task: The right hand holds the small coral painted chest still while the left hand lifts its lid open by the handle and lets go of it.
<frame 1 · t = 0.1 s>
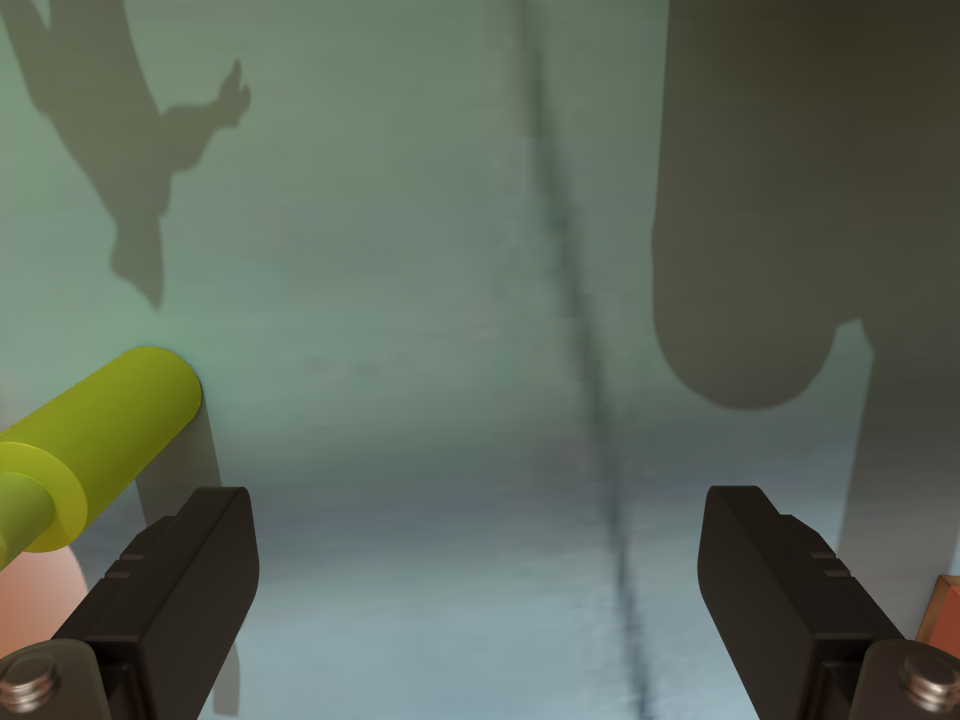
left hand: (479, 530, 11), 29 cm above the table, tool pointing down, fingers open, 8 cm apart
soap dispenser: (157, 380, 42), on the table
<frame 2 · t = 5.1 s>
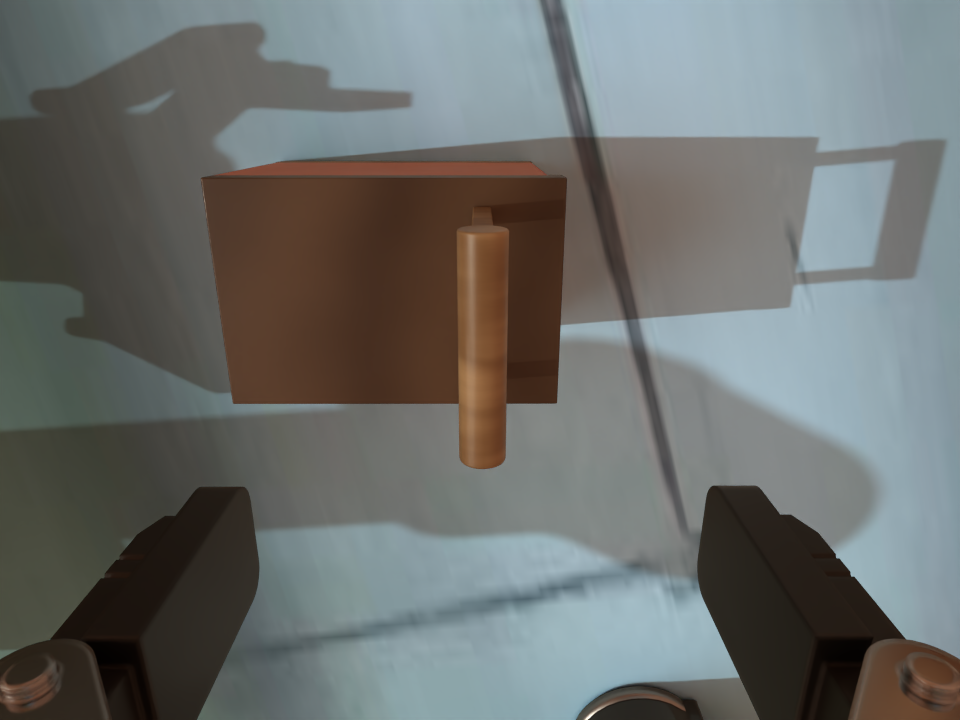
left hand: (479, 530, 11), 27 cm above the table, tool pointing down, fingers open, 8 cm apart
chest: (409, 248, 37), on the table
lid: (378, 318, 24), point 14 cm above the table, hinge at 0.0°
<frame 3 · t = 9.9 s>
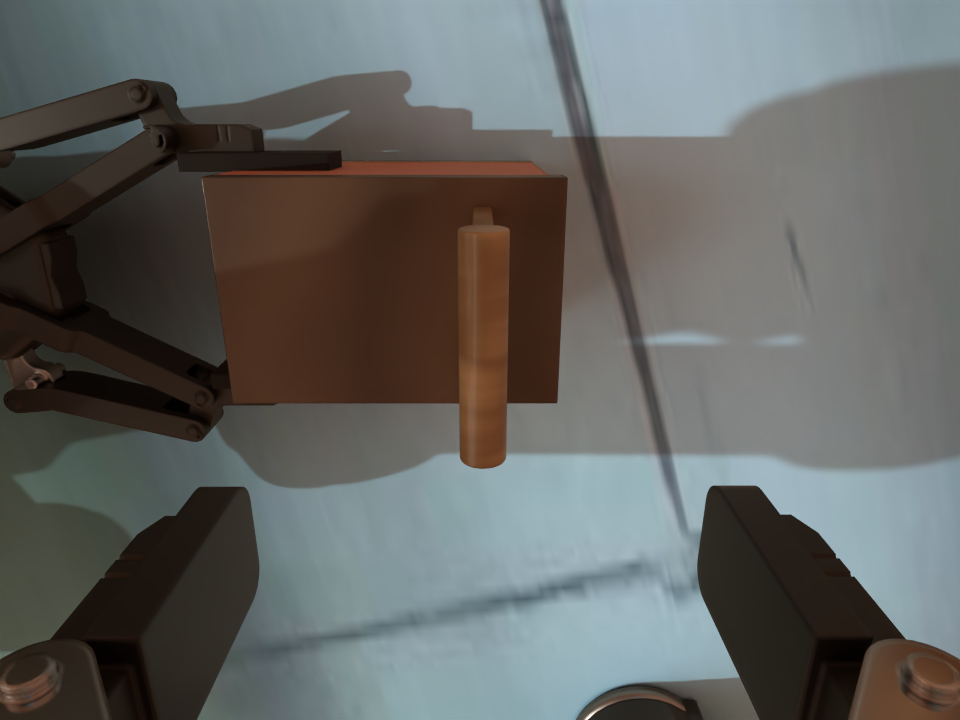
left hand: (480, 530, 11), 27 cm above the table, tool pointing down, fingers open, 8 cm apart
chest: (409, 248, 37), on the table, touching right hand
lid: (379, 318, 24), point 14 cm above the table, hinge at 0.0°
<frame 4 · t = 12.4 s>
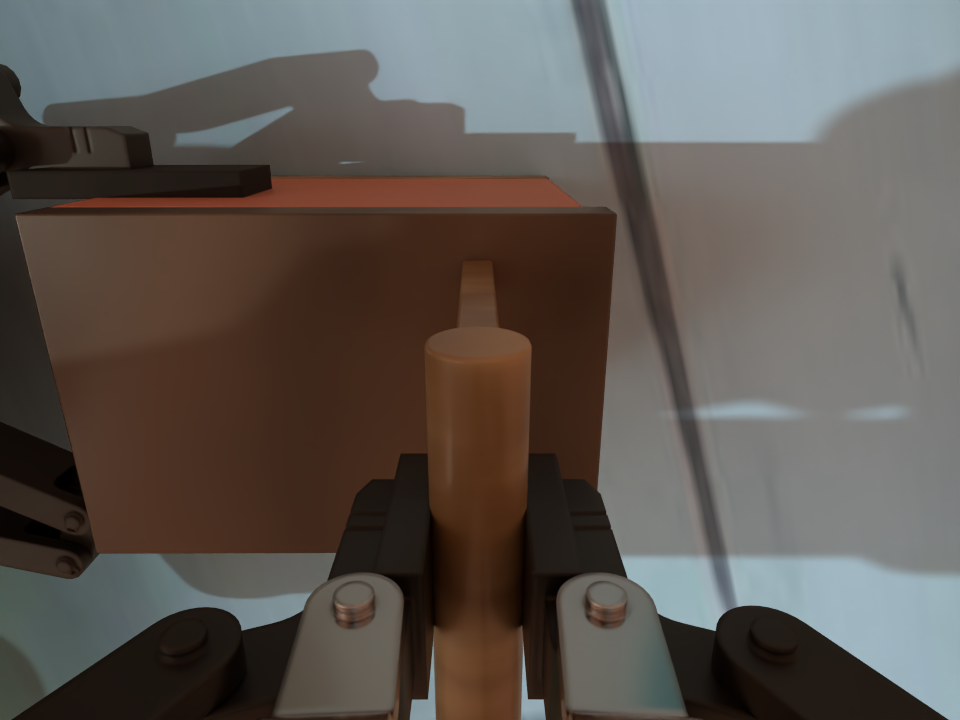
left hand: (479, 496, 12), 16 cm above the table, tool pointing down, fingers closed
chest: (380, 293, 27), on the table, touching right hand
lid: (302, 457, 14), point 14 cm above the table, hinge at 0.0°, touching left hand
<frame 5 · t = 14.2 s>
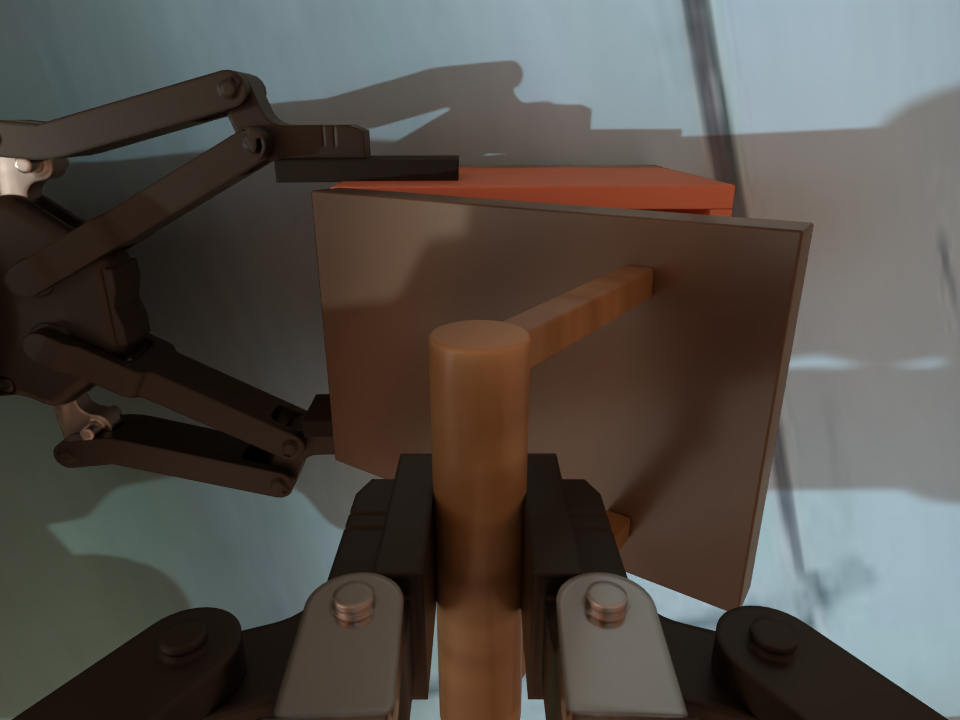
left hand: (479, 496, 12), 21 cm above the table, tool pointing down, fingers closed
right hand: (460, 298, 26), fingers closed on chest, 9 cm apart
chest: (511, 265, 32), on the table, touching right hand
lid: (433, 418, 16), point 17 cm above the table, hinge at 35.6°, touching left hand
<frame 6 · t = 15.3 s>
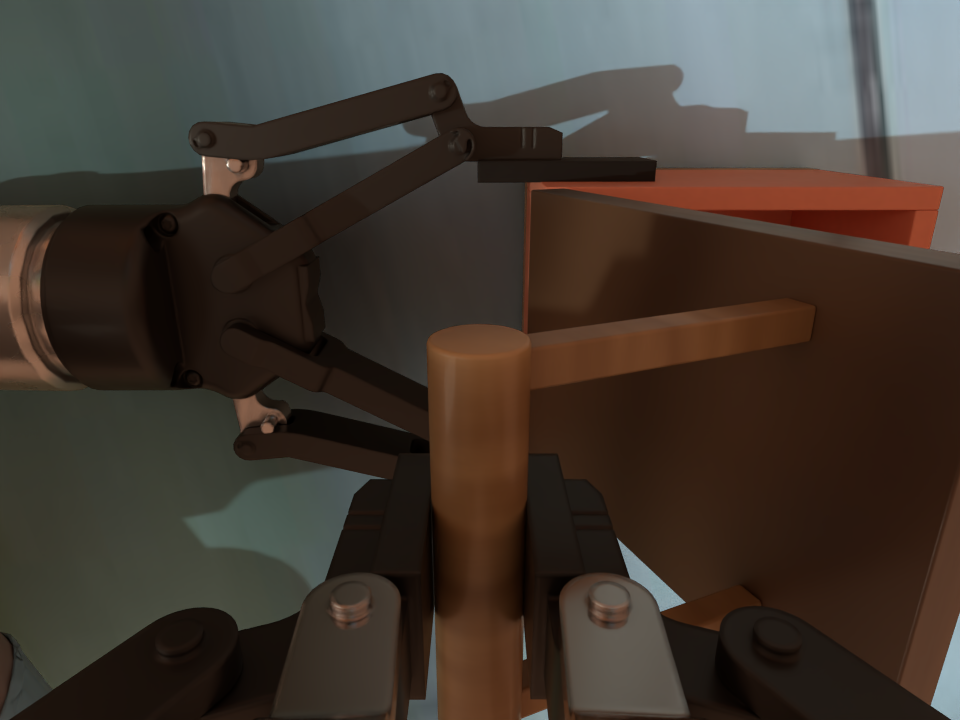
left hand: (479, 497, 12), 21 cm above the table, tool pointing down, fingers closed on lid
right hand: (635, 297, 27), fingers closed on chest, 9 cm apart
chest: (657, 266, 33), on the table, touching right hand
lid: (551, 426, 15), point 18 cm above the table, hinge at 66.5°, touching left hand
when the right hand's fingers open (6 cm above the table, at t = 19.2 s): chest stays where it is, on the table.
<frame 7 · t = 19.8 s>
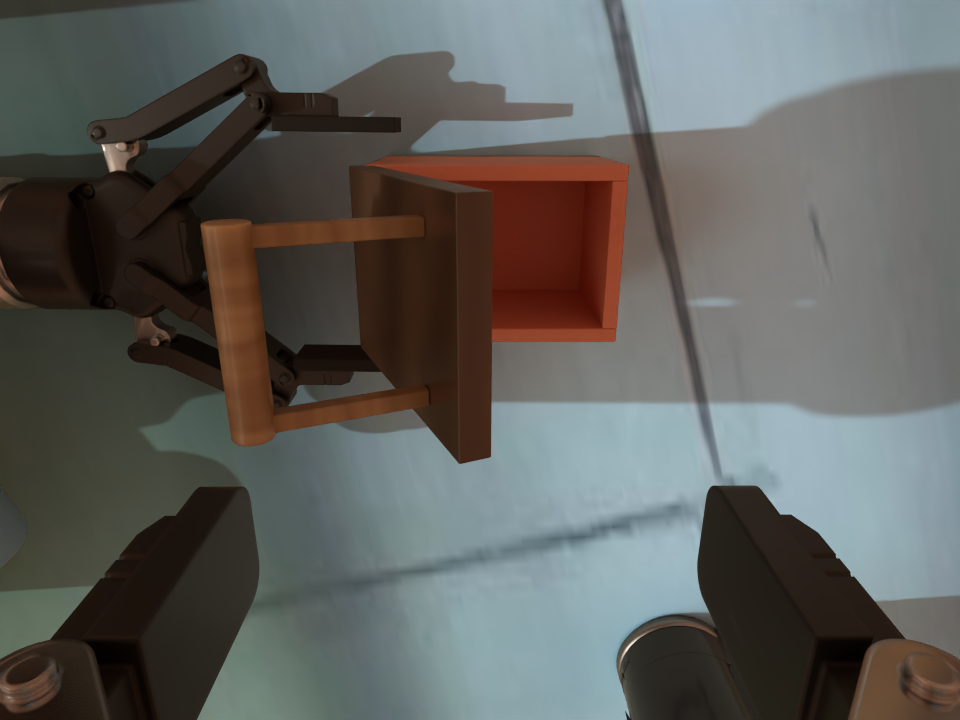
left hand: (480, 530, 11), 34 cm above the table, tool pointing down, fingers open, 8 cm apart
right hand: (402, 248, 38), fingers open, 13 cm apart
chest: (492, 229, 44), on the table
lid: (323, 298, 26), point 18 cm above the table, hinge at 66.0°
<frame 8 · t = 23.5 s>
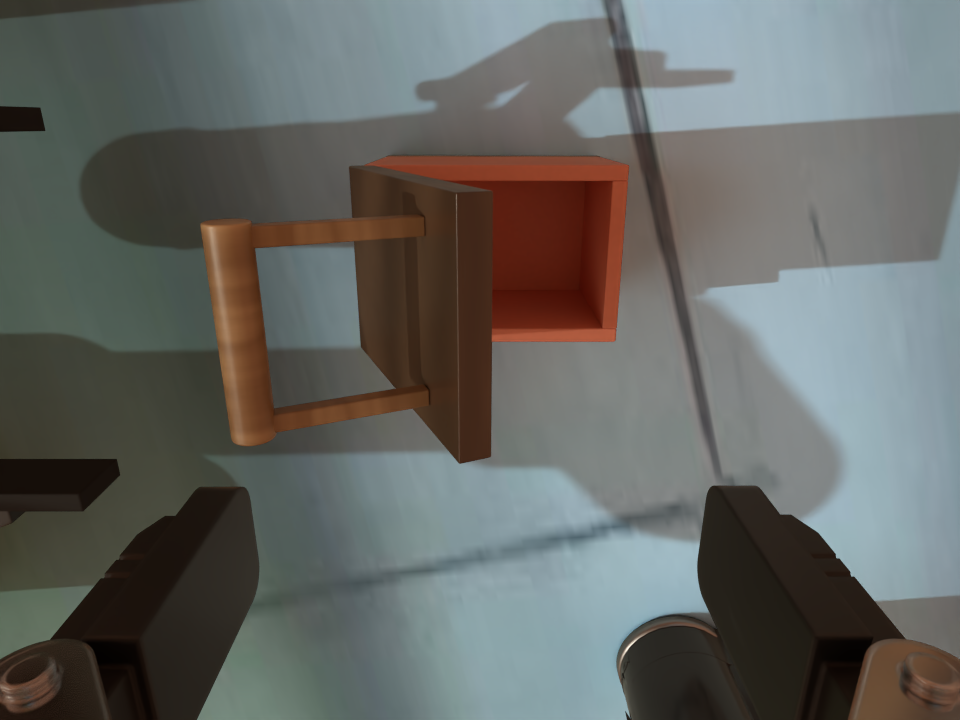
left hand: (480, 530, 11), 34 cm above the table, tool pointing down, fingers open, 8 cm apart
chest: (492, 229, 44), on the table
lid: (323, 298, 26), point 18 cm above the table, hinge at 66.0°
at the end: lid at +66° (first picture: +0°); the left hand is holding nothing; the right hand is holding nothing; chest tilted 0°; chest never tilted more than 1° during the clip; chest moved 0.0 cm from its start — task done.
